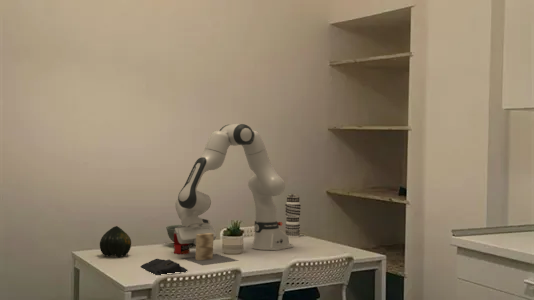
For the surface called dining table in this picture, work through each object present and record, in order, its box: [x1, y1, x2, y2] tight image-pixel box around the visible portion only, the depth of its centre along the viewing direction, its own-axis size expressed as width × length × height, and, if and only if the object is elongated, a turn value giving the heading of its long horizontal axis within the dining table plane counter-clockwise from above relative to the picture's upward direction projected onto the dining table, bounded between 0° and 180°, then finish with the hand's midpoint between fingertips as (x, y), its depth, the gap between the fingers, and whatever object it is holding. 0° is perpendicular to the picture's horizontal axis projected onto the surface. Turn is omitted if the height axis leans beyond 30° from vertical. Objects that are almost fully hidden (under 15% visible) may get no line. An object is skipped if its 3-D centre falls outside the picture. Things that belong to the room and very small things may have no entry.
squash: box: [99, 225, 132, 258], centre depth 311 cm, size 14×15×15 cm
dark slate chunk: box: [140, 258, 189, 276], centre depth 282 cm, size 15×22×5 cm
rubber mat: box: [181, 253, 240, 266], centre depth 303 cm, size 20×20×1 cm
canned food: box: [173, 232, 190, 255], centre depth 319 cm, size 8×8×11 cm
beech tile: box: [195, 233, 214, 260], centre depth 303 cm, size 8×2×12 cm, turn 127°
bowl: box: [166, 224, 195, 247], centre depth 342 cm, size 21×21×10 cm
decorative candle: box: [284, 193, 301, 238], centre depth 378 cm, size 9×9×25 cm
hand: (202, 248), depth 305 cm, fingers closed
